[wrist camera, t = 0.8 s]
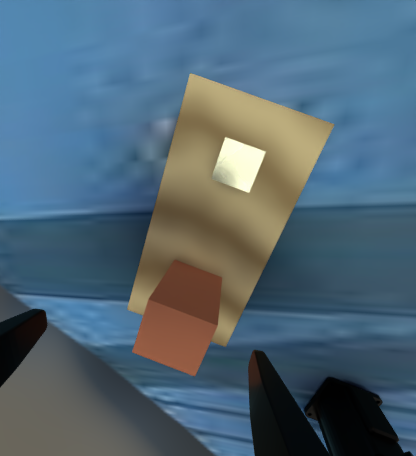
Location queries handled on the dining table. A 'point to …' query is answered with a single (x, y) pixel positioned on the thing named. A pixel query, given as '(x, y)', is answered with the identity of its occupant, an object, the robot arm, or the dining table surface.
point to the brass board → (226, 194)
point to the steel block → (237, 164)
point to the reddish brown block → (180, 318)
